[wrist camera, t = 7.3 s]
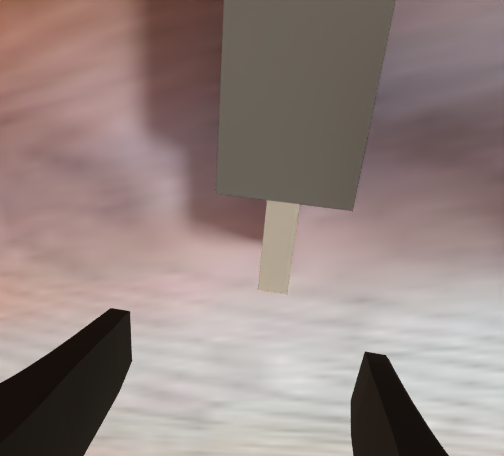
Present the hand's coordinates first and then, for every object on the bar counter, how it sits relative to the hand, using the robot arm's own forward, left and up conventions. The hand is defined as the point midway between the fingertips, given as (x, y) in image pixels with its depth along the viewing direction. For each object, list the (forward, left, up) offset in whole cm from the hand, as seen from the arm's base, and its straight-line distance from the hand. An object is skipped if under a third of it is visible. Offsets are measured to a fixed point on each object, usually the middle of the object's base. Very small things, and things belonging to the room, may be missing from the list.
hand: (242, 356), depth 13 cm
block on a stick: (+5, 0, -9) cm, 10 cm away
